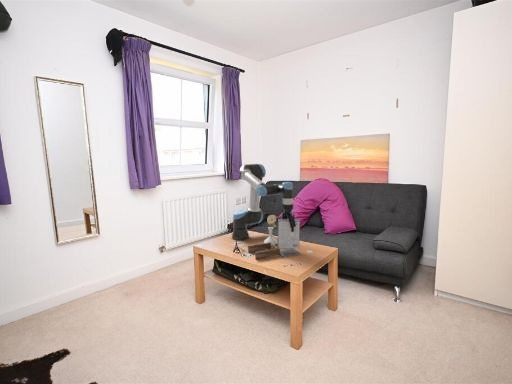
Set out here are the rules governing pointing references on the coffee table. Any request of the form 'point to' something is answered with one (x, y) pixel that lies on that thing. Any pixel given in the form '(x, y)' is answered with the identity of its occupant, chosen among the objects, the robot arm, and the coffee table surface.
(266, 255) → the walnut shelf bay
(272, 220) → the flower in vase
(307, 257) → the coffee table surface
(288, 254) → the felt pad
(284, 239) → the hard drive box
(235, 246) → the eiffel tower figurine
